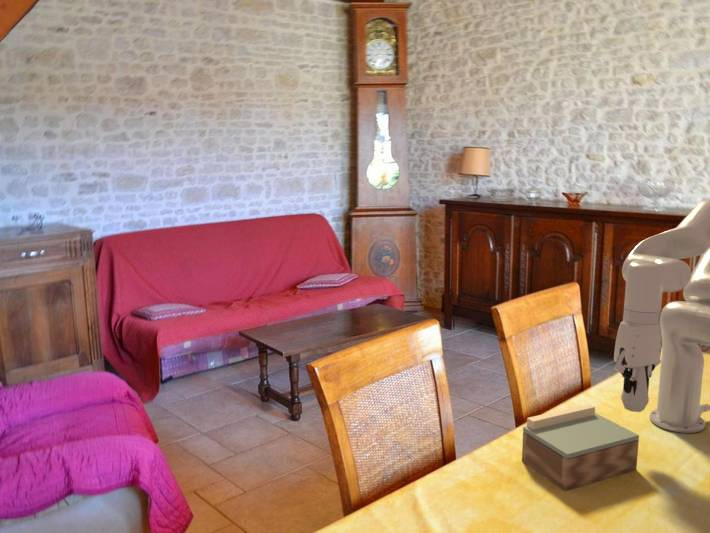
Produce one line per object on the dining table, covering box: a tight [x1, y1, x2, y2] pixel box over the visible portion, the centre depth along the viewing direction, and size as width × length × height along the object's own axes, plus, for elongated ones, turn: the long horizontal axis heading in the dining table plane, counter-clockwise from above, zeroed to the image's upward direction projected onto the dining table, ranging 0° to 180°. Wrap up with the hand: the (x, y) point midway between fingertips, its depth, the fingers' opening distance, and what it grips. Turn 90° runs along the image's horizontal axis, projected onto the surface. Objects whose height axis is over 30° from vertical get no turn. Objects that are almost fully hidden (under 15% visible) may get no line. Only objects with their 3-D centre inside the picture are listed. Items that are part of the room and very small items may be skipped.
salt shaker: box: [620, 365, 650, 413], centre depth 146 cm, size 6×6×13 cm
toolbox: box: [521, 431, 640, 492], centre depth 142 cm, size 20×14×7 cm
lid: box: [522, 403, 640, 459], centre depth 141 cm, size 20×14×3 cm
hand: (635, 393), depth 146 cm, fingers closed on salt shaker, 3 cm apart
